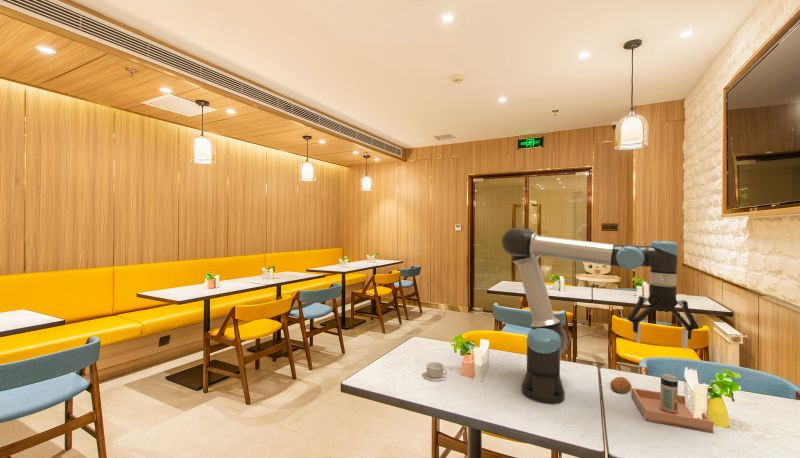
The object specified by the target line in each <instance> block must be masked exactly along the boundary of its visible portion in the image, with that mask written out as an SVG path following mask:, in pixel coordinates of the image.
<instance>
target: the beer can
mask: <svg viewBox="0 0 800 458" xmlns="http://www.w3.org/2000/svg"><path fill="white" fill-rule="evenodd" d="M678 389H679V379H678V377H677V376H676V375H674V374H671V373H666V372H665V373H662V374H661V375H660V391H659V392H660V408H661V409H662V410H663V411H665V412H668V413H676V412H677V396H678V395H679V394H678Z"/></svg>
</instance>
